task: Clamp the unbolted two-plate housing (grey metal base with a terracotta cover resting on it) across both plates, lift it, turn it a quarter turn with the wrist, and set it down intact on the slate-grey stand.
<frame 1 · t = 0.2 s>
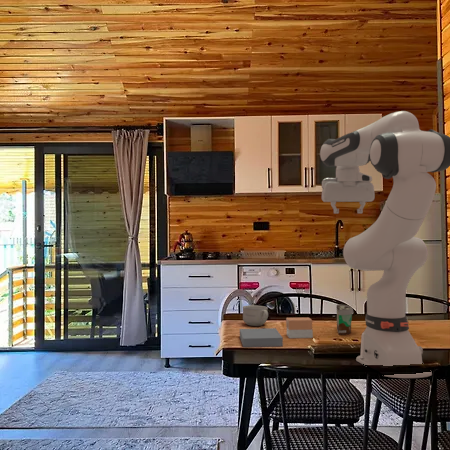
hand: (348, 213, 156), 47 cm above the table, tool pointing down, fingers open, 8 cm apart
housing cover: (299, 328, 155), point 3 cm above the table
teacup: (256, 326, 173), on the table
food container: (345, 332, 161), on the table
stand: (260, 341, 148), on the table
housing base: (299, 337, 155), on the table
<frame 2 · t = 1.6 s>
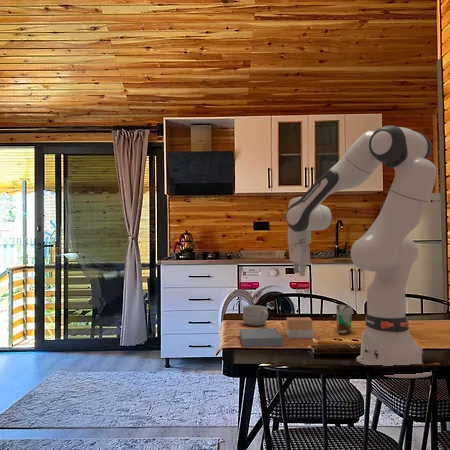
hand: (299, 274, 156), 24 cm above the table, tool pointing down, fingers open, 8 cm apart
housing cover: (299, 327, 155), point 3 cm above the table, touching housing base
housing base: (299, 337, 155), on the table, touching housing cover
everything else where it was.
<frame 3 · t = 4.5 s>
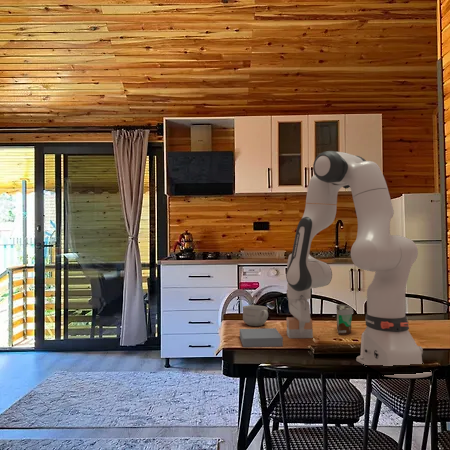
hand: (299, 329, 155), 3 cm above the table, tool pointing down, fingers closed on housing cover, 5 cm apart
housing cover: (299, 327, 155), point 3 cm above the table, touching gripper, housing base
housing base: (299, 336, 155), on the table, touching gripper, housing cover
everything else where it was.
when the fingers open (7 cm above the table, at t = 11.4 s): housing cover drops 1 cm, resting on housing base.
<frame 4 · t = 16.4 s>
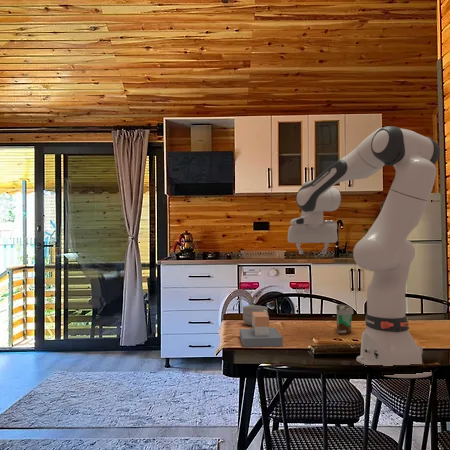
hand: (312, 254, 165), 31 cm above the table, tool pointing down, fingers open, 8 cm apart
housing cover: (260, 323, 148), point 6 cm above the table, touching housing base
housing base: (260, 333, 148), point 3 cm above the table, touching housing cover, stand
everything else where it was.
at the end: housing base inside the target area on the stand (0.1 cm from its centre), point 3.0 cm above the stand's base; housing cover 0.1 cm off-centre on the housing base, point 3.5 cm above the housing base's base; housing cover tilted 0° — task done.
